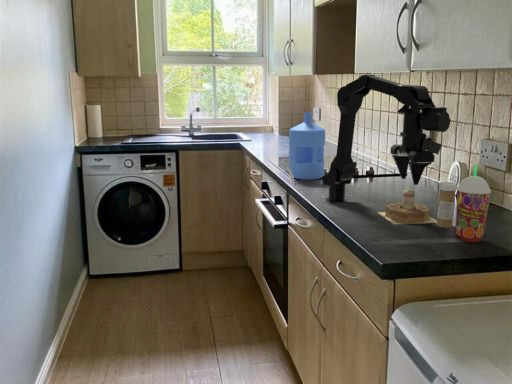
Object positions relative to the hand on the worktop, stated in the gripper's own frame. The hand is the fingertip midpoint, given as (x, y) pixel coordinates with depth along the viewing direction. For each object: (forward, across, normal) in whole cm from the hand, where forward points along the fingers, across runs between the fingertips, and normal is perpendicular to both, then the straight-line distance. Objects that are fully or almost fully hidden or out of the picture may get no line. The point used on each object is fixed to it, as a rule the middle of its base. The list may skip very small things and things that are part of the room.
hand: (409, 181), depth 153 cm
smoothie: (+12, -20, -9) cm, 25 cm away
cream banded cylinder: (+11, 0, 0) cm, 11 cm away
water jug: (+12, +73, +16) cm, 75 cm away
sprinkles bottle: (+12, -10, -7) cm, 17 cm away
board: (+12, 0, 0) cm, 12 cm away
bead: (+11, 0, 0) cm, 11 cm away
